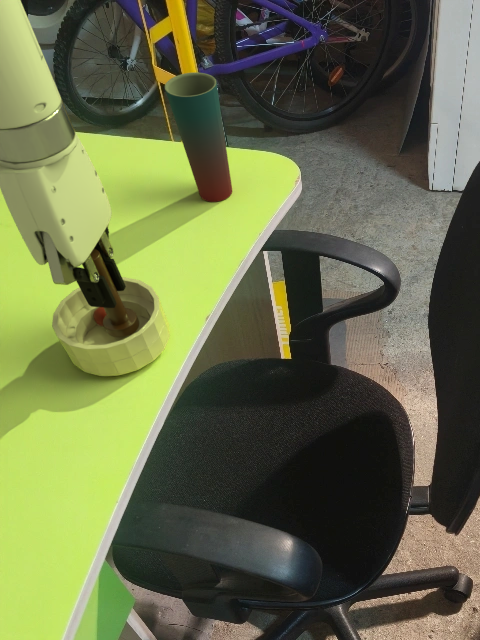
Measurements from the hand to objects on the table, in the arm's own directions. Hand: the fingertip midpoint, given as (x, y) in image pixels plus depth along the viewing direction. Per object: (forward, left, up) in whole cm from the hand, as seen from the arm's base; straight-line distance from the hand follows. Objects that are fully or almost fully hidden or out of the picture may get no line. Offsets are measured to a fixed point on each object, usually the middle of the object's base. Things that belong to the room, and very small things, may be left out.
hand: (107, 296), depth 67 cm
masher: (0, 0, -5) cm, 5 cm away
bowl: (0, -1, -6) cm, 7 cm away
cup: (+3, +32, -7) cm, 33 cm away
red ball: (-3, +1, -4) cm, 5 cm away
